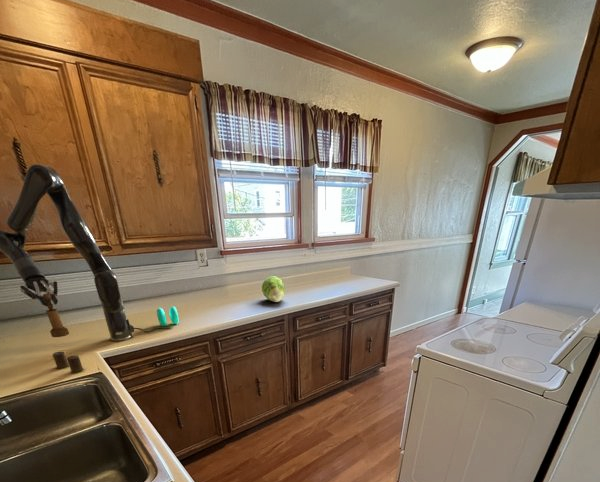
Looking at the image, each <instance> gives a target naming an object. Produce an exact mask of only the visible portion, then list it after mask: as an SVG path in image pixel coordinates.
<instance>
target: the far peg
mask: <svg viewBox="0 0 600 482" xmlns="http://www.w3.org/2000/svg"><path fill="white" fill-rule="evenodd" d="M66 359H67V361H68V364H69V366H68V367H69V369H70V372H71V373H72V374H79V373H82V372H83V371H84V367H83V365H82V362H81V359H80V355H77V354H76V355H75V354H74V355H69V356H66Z"/></svg>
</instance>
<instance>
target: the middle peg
mask: <svg viewBox="0 0 600 482" xmlns="http://www.w3.org/2000/svg"><path fill="white" fill-rule="evenodd" d="M52 356H53V360H54V362H55V366H56V369H59V370H61V369H66V368H68V367H70V366H69V363H68V360H67V356H66V353H65V351H56V352H53V353H52Z"/></svg>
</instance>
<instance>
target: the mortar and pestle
mask: <svg viewBox="0 0 600 482" xmlns="http://www.w3.org/2000/svg"><path fill="white" fill-rule="evenodd" d="M42 296H43V297H44V299H45V300H46V302H47V306H46V307H47V309H46V310H45V313H46V315H47V318H48V321H49V323H50V325H51V329H50V331H49V332H50V335H51V337H52V338H63V337H66V336H68V335H70V332H69V331H70V330H69V329H68V328H67V327H65V326H64V325H63V322H62V320H61V316H60V314H59V311H58V309H57V308H54V303H53V302H52V300H51V298H52V297H51V295H50V294H46V293H42Z"/></svg>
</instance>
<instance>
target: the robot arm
mask: <svg viewBox="0 0 600 482" xmlns="http://www.w3.org/2000/svg"><path fill="white" fill-rule="evenodd" d="M46 194H47V195H48V197H49V198H50V200H51V202H52V203H53V205H54V207H55V209H56V212H57V215H58V218H59V222H60V225H61V228H62V230H63V231H64V233H65V235H66V237H67V238H68V240H69V241H70V243H71V244H72V246H73V247H74V249H75V250H76V251H77V252H78V254H80V256H81V257H82V258H83V259H84V260H85V262H86V263H87V265H88V267H89V268H90V270H91V273H92V275H93V279H94V285H95V289H96V292H97V295H98V299H99V302H100V304H101V308H102V311H103V314H104V318H105V322H106V326H107V329H108V333H109V337H110V340H111V341H114V342H120V341H126V340H130V339H131V338H133V333H135V330H139V331H142V332H144V333H151V332H154V331H156V330H170V329H171V328H172V327H155V328H152V329H150V330H145V329H143V328H141V327H134V325H132V324H131V323H130V320H129V319H128V318H127V313H126V310H125V307H124V302H123V298H122V295H121V291H120V285H119V282H118V277H117V275H116V274H115V272H114V271H113V270H112V268H111V267H110V265H109V263H108V262H107V260H106V259H105V258H104V256H103V254H102V252H101V250H100V248H99V246H98V243H97V242H96V240H95V238H94V235H93V234H92V233H91V230H90V229H89V227H88V225H87V223H86V222H85V220H84V218H83V217H82V215H81V214H80V212H79V210H78V208H77V207H76V205H75V203H74V202H73V200H72V198H71V196H70V194H69V192H68V190H67V188H66V185H65V183H64V181H63V179H62V177H61V176H60V174H59V173H58V171H56V169H55V168H54V167H51V166H50V165H47V164H42V163H41V164H40V163H34V164H31V165H30V166H29V167H28V169H27V171H26V173H25V178H24V181H23V184H22V187H21V190H20V193H19V196H18V197H17V200H16V202H15V204H14V206H13V208H12V209H11V211H10V212H9V214H8V216H7V218H6V221H5V224H6V226H7V227H8V228H9V229H10V230H12V231H13V232H11V231H8V230H4V229H0V251H1V252H2V253H3V254H4V255H5V256H6V257H7V258H9V260H10V262H11V263H12V264H13V266H14V268H15V271H17V274H18V275H19V276H20V278H21V279H22V280H23V281H22V282H24V285H20V292H21V293H23V294H25V295H26V296H28V297H29V298H30V299H32V300H38V301H39V302H40V304H41V305H42V306H44V307H47V302H46V300H45V299H44V297H43V295H42V293H44V294H50V295H51V297H52V298H51V302H52V304H53V305H55V306H57V305H58V303H59V300H58V298H57V296H58V291H59V290H58V282H57V281H55V280H54V281H53V282H52V281H50V280H48V279H47V278H46V277H45V275H44V273H43V272H42V270H41V269H40V267H39V266H38V265H37V263H36V262H35V261H34V260H33V258H32V257H31V255H30V254H29V253H28V251H27V250H26V249H24V248H25V247H26V243H27V242H26V241H27V235H28V231H29V229H30V228H31V225H32V224H33V222H34V220H35V218H36V214H37V210H38V206H39V203H40V201H42V198H43V197H44V196H45V195H46ZM50 287H51V288H52V289H53V290H52V289H51V288H50Z"/></svg>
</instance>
